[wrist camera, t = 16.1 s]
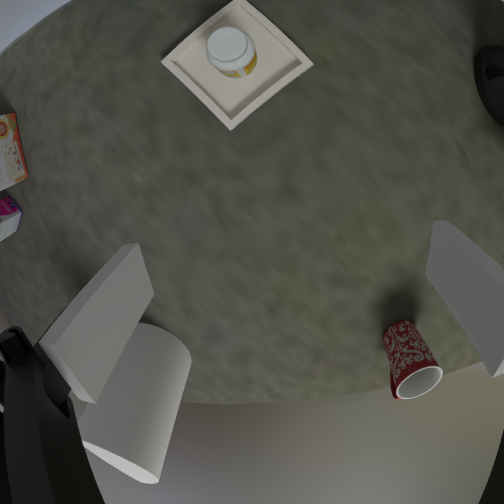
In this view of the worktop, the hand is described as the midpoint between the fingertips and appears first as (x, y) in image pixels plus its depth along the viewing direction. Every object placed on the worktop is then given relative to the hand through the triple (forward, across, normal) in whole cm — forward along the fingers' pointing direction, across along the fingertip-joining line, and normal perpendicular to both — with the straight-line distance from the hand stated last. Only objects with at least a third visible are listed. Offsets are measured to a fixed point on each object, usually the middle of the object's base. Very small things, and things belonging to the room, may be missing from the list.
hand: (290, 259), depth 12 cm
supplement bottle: (+28, -4, +14) cm, 32 cm away
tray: (+29, -4, +14) cm, 32 cm away
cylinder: (+29, -29, -36) cm, 55 cm away
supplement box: (+29, -55, 0) cm, 62 cm away
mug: (+29, +22, -36) cm, 51 cm away
